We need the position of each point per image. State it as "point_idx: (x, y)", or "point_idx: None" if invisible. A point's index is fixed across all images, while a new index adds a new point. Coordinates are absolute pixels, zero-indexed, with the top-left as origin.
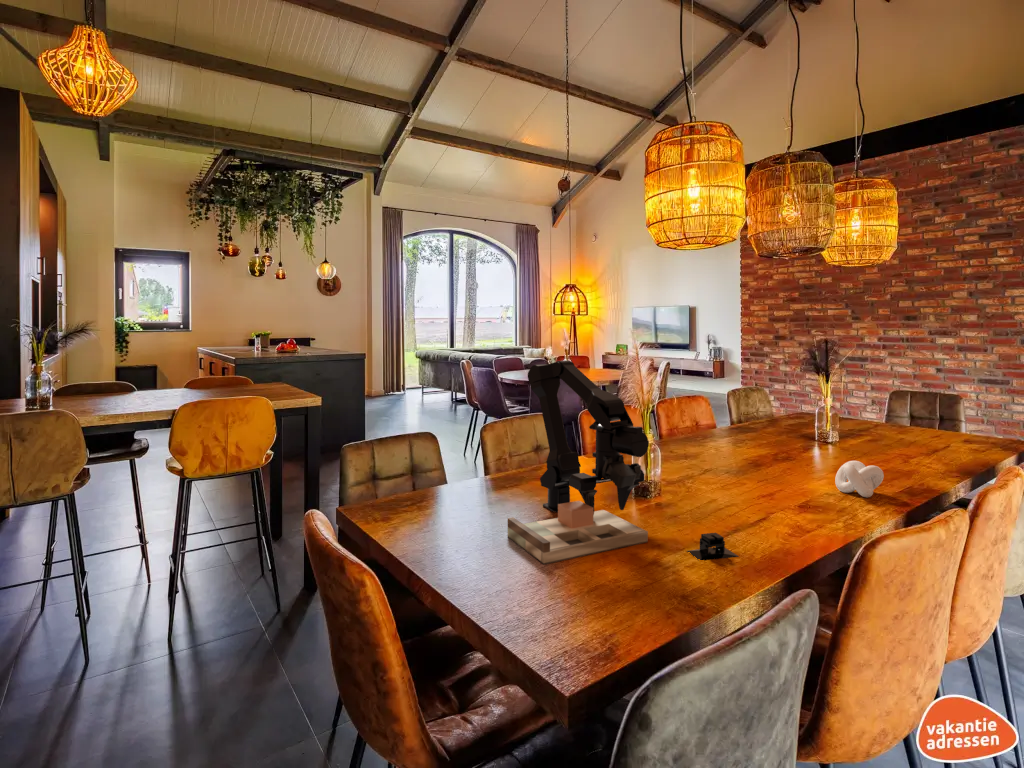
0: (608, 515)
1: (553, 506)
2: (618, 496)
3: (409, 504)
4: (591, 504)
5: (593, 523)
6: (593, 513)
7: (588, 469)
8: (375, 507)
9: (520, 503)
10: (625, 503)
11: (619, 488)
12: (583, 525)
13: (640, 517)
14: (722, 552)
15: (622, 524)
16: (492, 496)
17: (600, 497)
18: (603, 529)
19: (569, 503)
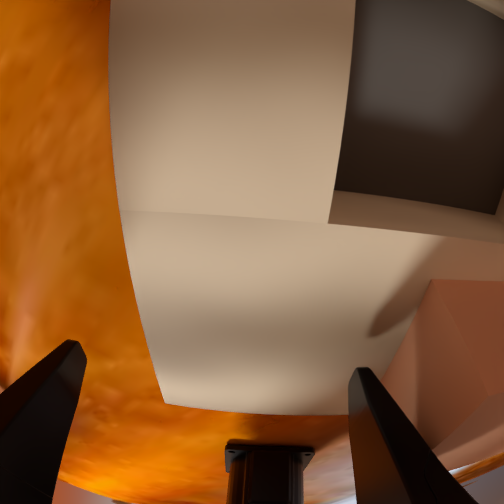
0: (190, 349)
1: (300, 466)
2: (62, 441)
3: (466, 474)
4: (422, 446)
5: (416, 290)
6: (365, 379)
7: (77, 476)
8: (496, 465)
9: (331, 480)
10: (34, 369)
11: (37, 489)
12: (498, 284)
13: (8, 288)
14: None
15: (212, 139)
16: (343, 496)
17: (96, 439)
18: (372, 209)
19: (468, 460)
